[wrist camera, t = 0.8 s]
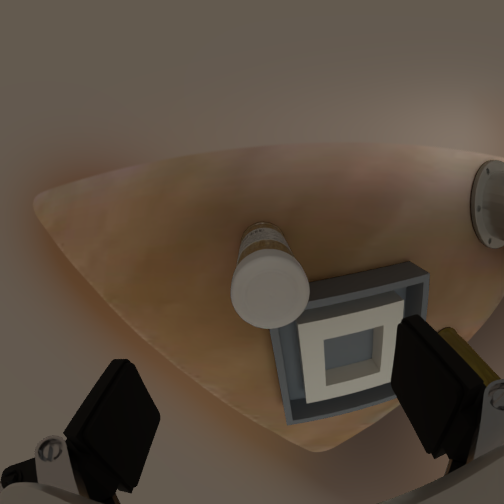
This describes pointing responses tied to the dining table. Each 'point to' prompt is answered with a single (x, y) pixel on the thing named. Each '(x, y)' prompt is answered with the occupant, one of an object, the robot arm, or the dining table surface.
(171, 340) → the dining table surface
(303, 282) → the sprinkles bottle
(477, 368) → the vase
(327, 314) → the block
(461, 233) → the dining table surface
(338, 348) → the open box
